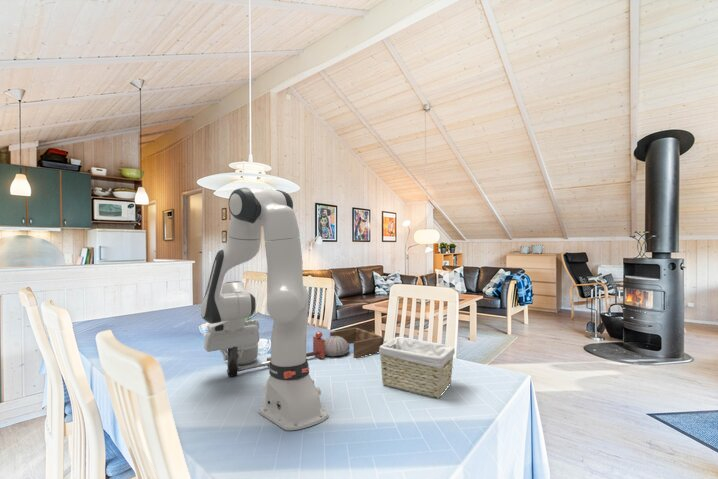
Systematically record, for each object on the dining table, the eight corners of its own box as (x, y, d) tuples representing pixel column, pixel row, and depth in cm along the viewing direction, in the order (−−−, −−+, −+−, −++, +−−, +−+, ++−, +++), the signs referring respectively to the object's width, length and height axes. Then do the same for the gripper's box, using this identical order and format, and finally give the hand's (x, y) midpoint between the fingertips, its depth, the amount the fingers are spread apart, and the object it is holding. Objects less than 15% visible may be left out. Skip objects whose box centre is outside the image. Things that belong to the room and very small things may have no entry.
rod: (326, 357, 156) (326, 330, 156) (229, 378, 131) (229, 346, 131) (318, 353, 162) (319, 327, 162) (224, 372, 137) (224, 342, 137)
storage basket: (456, 385, 128) (456, 345, 128) (441, 403, 114) (441, 357, 114) (396, 372, 140) (396, 335, 140) (377, 386, 126) (377, 345, 126)
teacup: (261, 358, 155) (262, 340, 155) (252, 367, 144) (252, 348, 144) (231, 357, 156) (231, 339, 156) (219, 366, 146) (219, 347, 146)
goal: (383, 351, 165) (383, 337, 165) (355, 358, 156) (355, 342, 156) (356, 340, 183) (356, 327, 183) (329, 346, 174) (330, 332, 174)
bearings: (305, 362, 150) (305, 355, 150) (272, 370, 142) (272, 362, 142) (299, 358, 155) (299, 351, 155) (266, 365, 147) (266, 357, 147)
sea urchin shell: (315, 356, 158) (315, 338, 158) (327, 347, 171) (327, 331, 171) (343, 359, 154) (343, 341, 154) (353, 350, 167) (353, 333, 167)
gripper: (256, 318, 144) (256, 351, 144) (203, 324, 132) (203, 361, 132) (261, 320, 139) (261, 355, 139) (207, 328, 127) (207, 366, 127)
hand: (232, 358), depth 135 cm, fingers open, 4 cm apart
